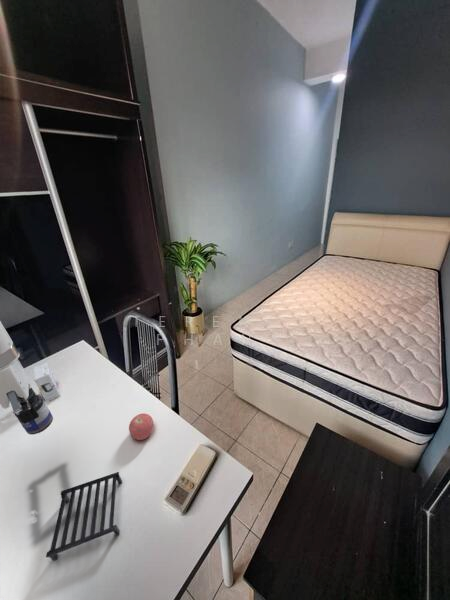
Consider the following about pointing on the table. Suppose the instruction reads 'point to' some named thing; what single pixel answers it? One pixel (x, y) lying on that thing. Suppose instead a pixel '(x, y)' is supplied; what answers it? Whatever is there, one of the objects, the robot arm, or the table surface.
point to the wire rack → (85, 514)
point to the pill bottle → (42, 410)
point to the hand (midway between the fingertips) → (30, 409)
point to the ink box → (46, 382)
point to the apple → (141, 426)
